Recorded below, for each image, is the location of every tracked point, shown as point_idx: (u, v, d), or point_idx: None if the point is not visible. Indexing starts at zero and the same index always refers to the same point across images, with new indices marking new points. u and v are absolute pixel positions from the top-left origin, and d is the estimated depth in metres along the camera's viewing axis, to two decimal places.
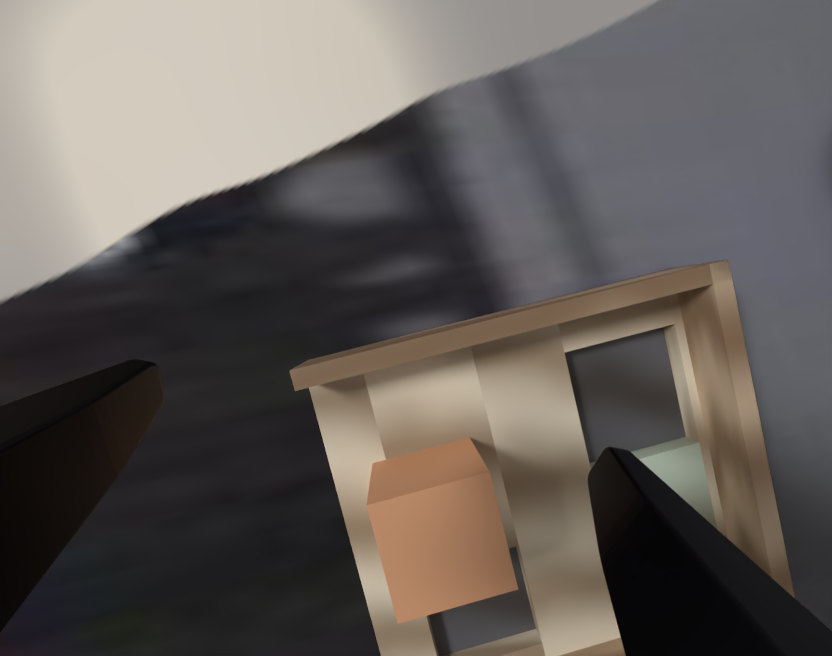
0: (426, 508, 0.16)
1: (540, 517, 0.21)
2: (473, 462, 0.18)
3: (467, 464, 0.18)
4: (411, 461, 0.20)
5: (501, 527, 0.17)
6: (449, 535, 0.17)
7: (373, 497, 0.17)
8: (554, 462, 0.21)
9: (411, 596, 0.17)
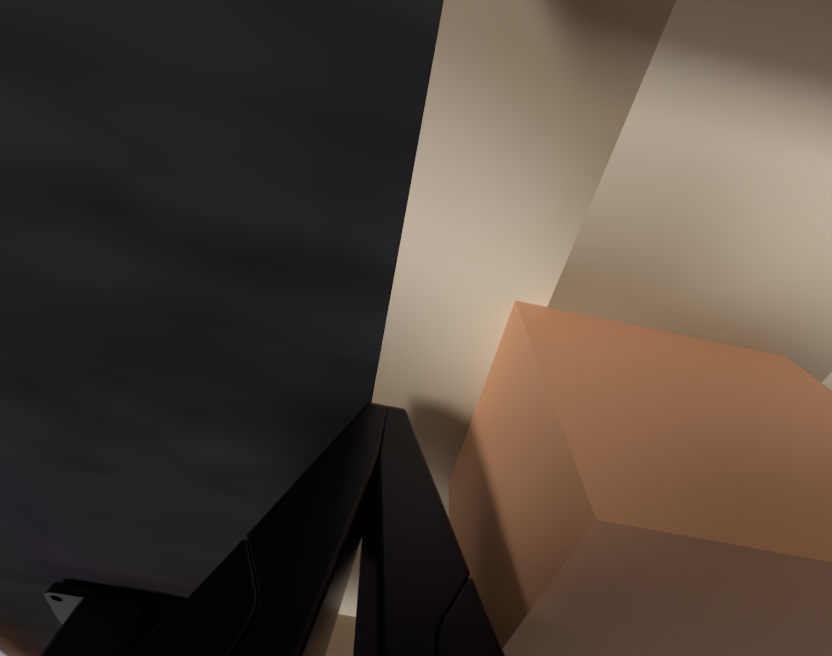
0: (787, 607, 0.04)
1: None
2: None
3: None
4: (649, 354, 0.06)
5: None
6: None
7: (604, 475, 0.04)
8: None
9: None
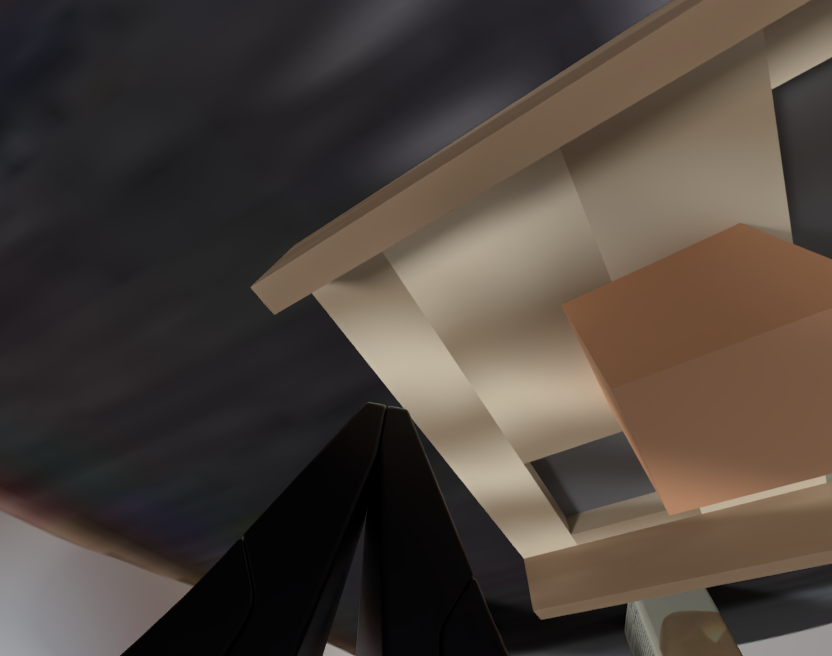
0: (729, 374, 0.09)
1: None
2: (810, 269, 0.09)
3: (799, 277, 0.09)
4: (641, 289, 0.11)
5: None
6: (773, 406, 0.09)
7: (614, 371, 0.10)
8: None
9: (692, 487, 0.11)
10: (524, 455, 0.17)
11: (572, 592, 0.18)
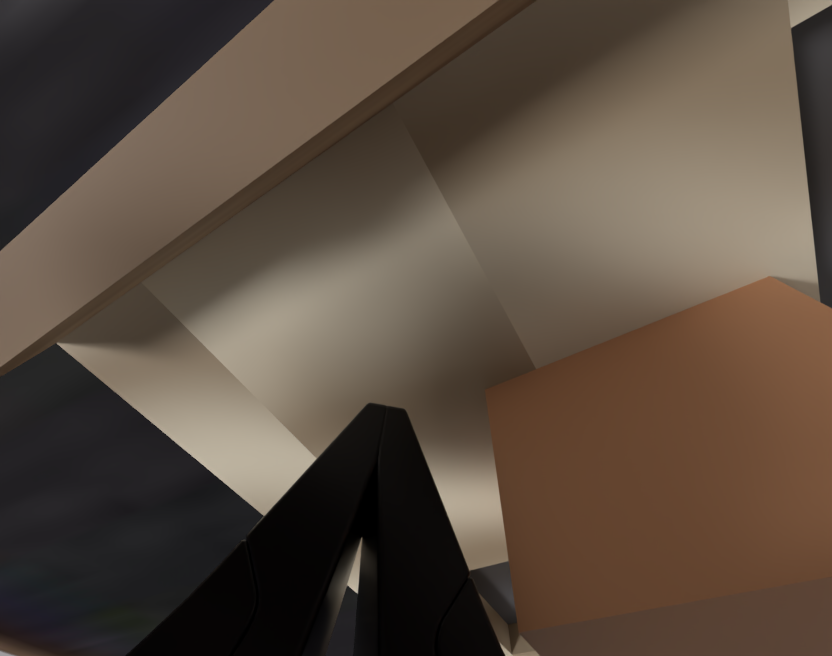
0: (763, 628, 0.04)
1: None
2: None
3: None
4: (601, 384, 0.07)
5: None
6: None
7: (532, 579, 0.05)
8: None
9: None
10: None
11: None
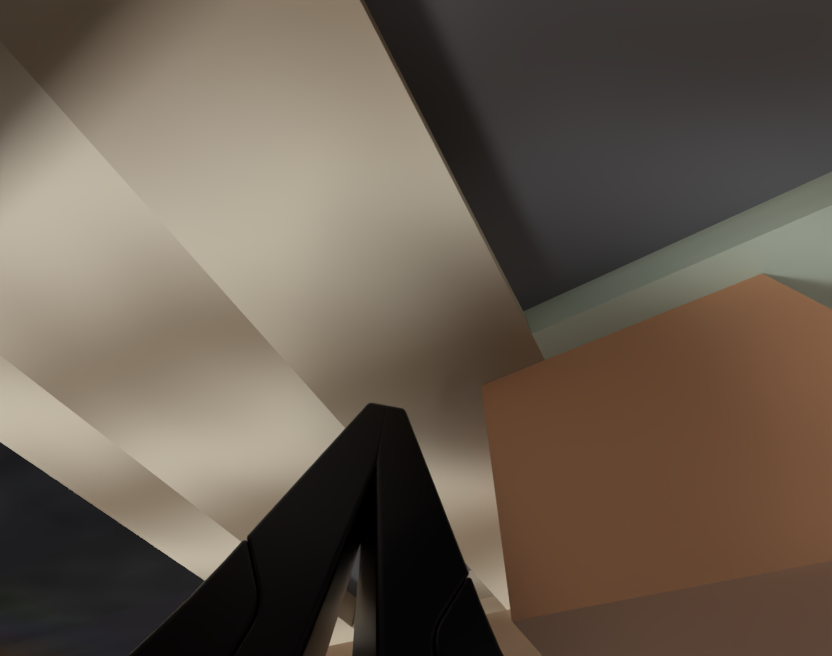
0: (751, 616, 0.04)
1: (428, 443, 0.10)
2: None
3: None
4: (596, 380, 0.07)
5: None
6: None
7: (525, 569, 0.05)
8: (422, 332, 0.08)
9: None
10: (239, 533, 0.12)
11: None
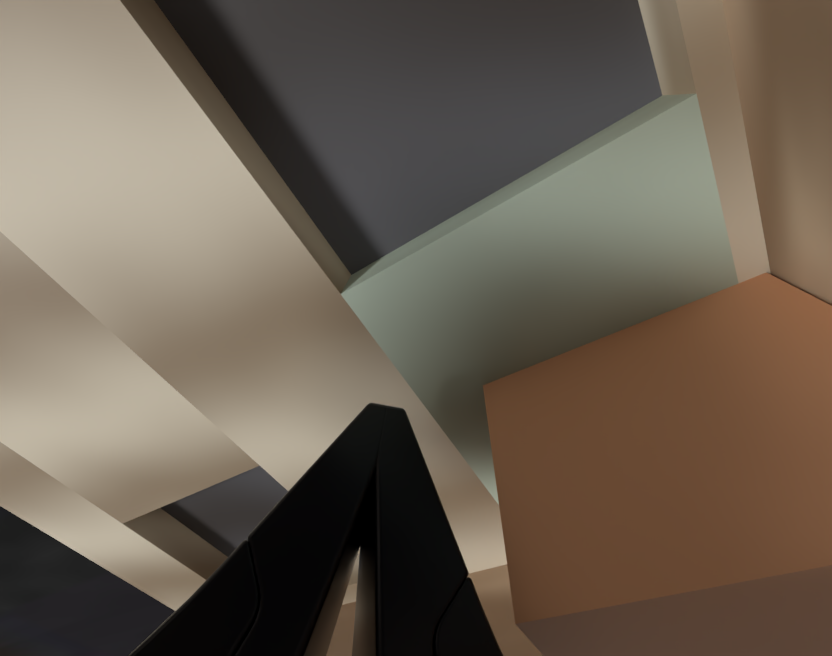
0: (758, 619, 0.04)
1: (272, 414, 0.09)
2: None
3: None
4: (598, 380, 0.07)
5: None
6: None
7: (529, 571, 0.05)
8: (232, 293, 0.08)
9: None
10: (114, 512, 0.12)
11: None
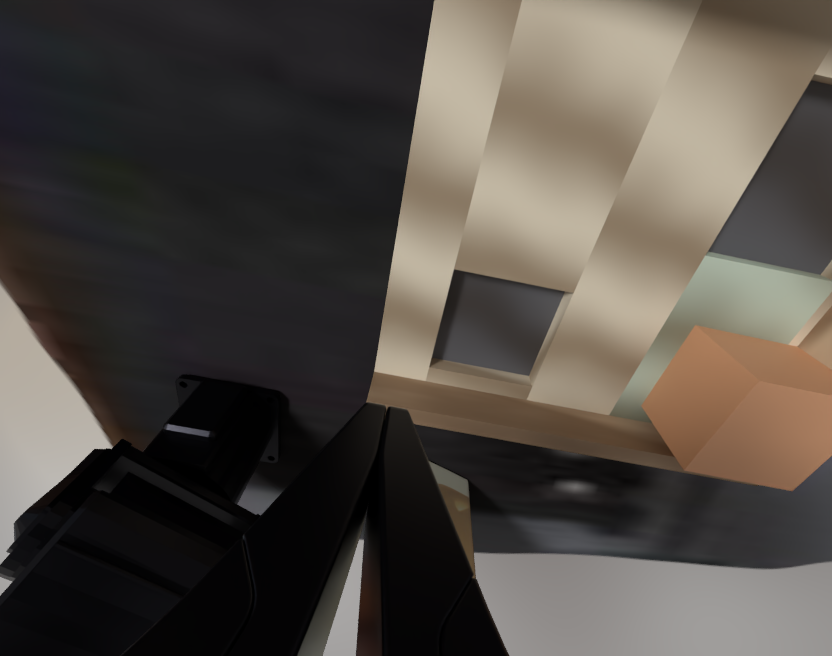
0: (801, 407, 0.16)
1: (615, 276, 0.18)
2: None
3: None
4: (750, 345, 0.18)
5: None
6: (792, 435, 0.17)
7: (756, 374, 0.16)
8: (677, 223, 0.17)
9: (714, 459, 0.18)
10: (461, 260, 0.18)
11: (407, 402, 0.20)
